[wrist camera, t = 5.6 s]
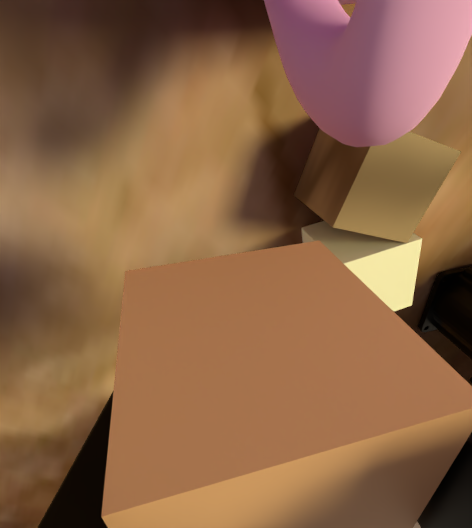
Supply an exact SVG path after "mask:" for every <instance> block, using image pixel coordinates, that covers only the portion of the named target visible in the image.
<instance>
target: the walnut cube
mask: <svg viewBox="0 0 472 528" xmlns="http://www.w3.org/2000/svg"><path fill="white" fill-rule="evenodd" d="M460 153H461V151H458V150H456V149H453V148H451V147H448V146H445V145H443V144H440V143H438V142H435V141H432V140H430V139H427V138H425V137H422V136H419V135H417V134H414V133H412V132H408V133H406V134H404V135H403V136H401V137H400V138H398V139H396V140H394V141H392V142H390V143H388V144H386V145H378V146H366V147H353V146H349V145H345V144H342V143H341V142H339V141H338V140H336V139H334V138H333V137H331V136H330V135H328V134H327V133H325V132H323V131H322V130H321V129H320V128H319V131H318V133H317V136H316V139H315V141H314V144H313V146H312V149H311V152H310V154H309V157H308V159H307V162H306V164H305V167H304V170H303V172H302V175H301V177H300V180H299V183H298V185H297V188H296V190H295V193H294V196H295V197H296V198H297V199H299V200H300V201H301V202H302V203H304V204H305V205H306V206H307V207H308V208H310V209H311V210H312V211H313V212H315V213H316V214H317V215H318V216H320V217H321V218H322V219H323V220H324V221H326V222H327V223H328V224H329V225H331V226H332V227H334V228H338V229H343V230H348V231H352V232H357V233H362V234H366V235H371V236H376V237H381V238H385V239H390V240H395V241H399V242H404V243H407V242H408V241H409V239H410V237H411V236H412V234H413V232H414V231H415V229H416V227H417V226H418V224H419V222H420V221H421V219H422V217H423V215H424V214H425V212H426V210H427V209H428V207H429V205H430V204H431V202H432V200H433V199H434V197H435V195H436V193H437V192H438V190H439V188H440V187H441V185H442V183H443V182H444V180H445V178H446V177H447V175H448V173H449V171H450V170H451V168H452V166H453V165H454V163H455V161H456V160H457V158H458V156H459V155H460Z"/></svg>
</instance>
